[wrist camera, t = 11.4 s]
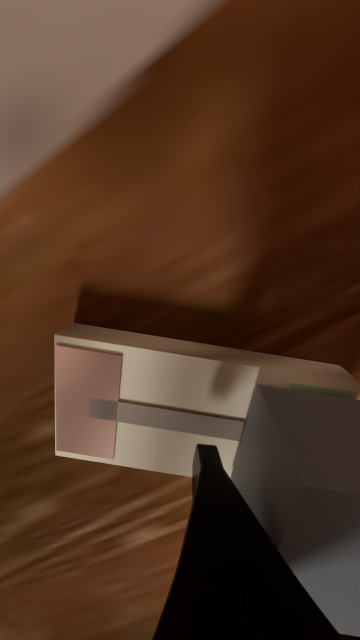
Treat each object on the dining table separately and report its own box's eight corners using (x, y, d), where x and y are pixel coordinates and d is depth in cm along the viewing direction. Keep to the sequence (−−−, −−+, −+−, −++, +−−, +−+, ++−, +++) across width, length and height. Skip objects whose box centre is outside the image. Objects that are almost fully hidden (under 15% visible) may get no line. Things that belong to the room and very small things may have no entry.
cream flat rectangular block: (339, 365, 11) (364, 385, 9) (299, 467, 12) (314, 499, 11) (73, 322, 11) (52, 335, 9) (71, 431, 12) (54, 456, 11)
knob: (362, 400, 9) (489, 515, 5) (319, 497, 10) (392, 641, 7) (256, 383, 9) (304, 485, 5) (229, 482, 10) (249, 618, 7)
